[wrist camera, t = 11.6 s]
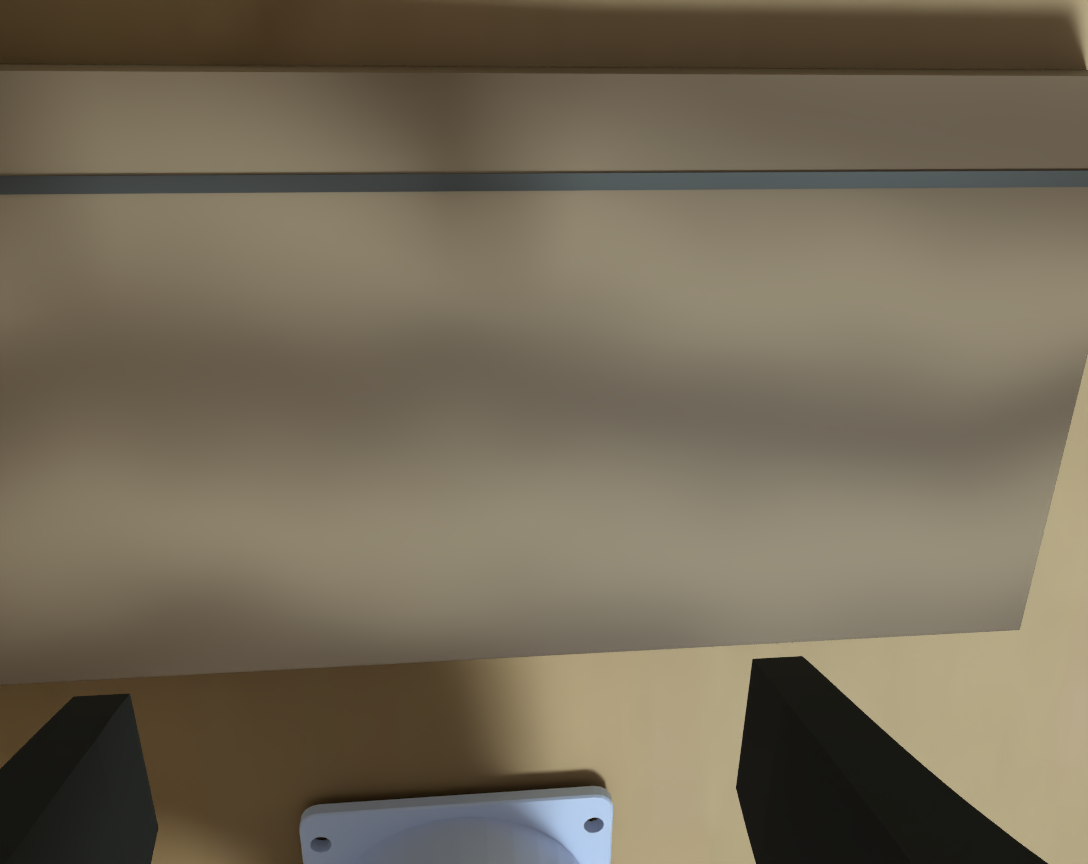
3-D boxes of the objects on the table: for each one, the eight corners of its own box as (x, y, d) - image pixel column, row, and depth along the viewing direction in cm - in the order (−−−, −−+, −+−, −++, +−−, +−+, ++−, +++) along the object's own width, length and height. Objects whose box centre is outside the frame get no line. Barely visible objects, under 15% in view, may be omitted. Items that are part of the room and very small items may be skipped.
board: (975, 582, 24) (1020, 631, 22) (-327, 646, 21) (-401, 708, 19) (1088, 69, 19) (1159, 76, 18) (-574, 61, 16) (-704, 67, 15)
